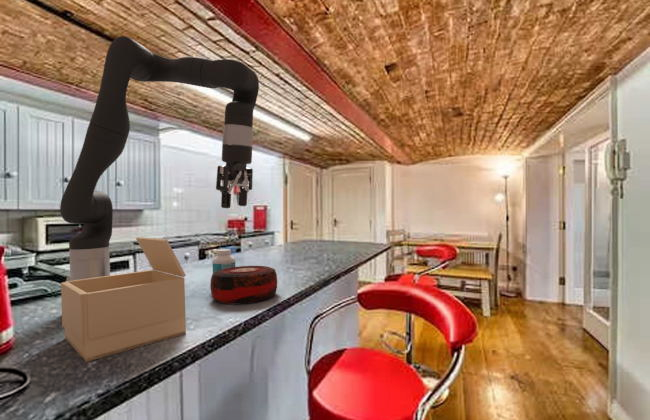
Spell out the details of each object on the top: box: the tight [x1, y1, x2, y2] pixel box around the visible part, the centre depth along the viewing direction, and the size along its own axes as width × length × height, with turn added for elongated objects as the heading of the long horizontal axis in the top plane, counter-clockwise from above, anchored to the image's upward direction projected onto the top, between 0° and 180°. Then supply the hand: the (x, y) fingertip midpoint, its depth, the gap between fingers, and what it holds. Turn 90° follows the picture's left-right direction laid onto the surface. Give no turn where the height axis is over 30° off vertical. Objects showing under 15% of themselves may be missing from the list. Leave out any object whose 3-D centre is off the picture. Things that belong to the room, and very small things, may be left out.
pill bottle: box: [212, 248, 236, 274], centre depth 116 cm, size 8×7×14 cm
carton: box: [60, 269, 187, 363], centre depth 74 cm, size 18×19×12 cm
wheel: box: [210, 265, 278, 305], centre depth 106 cm, size 20×8×20 cm
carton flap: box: [135, 236, 187, 278], centre depth 79 cm, size 9×17×1 cm
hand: (234, 206), depth 91 cm, fingers open, 8 cm apart
